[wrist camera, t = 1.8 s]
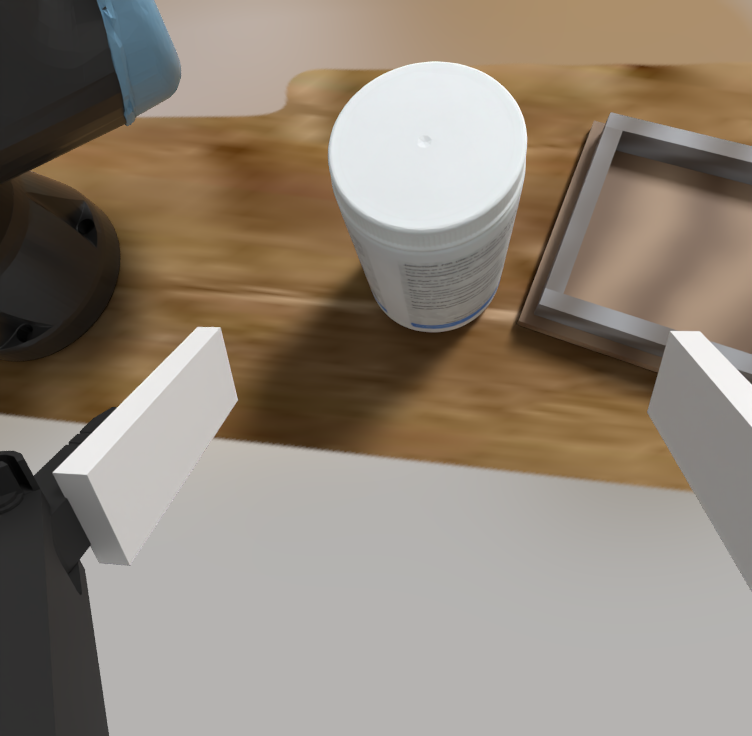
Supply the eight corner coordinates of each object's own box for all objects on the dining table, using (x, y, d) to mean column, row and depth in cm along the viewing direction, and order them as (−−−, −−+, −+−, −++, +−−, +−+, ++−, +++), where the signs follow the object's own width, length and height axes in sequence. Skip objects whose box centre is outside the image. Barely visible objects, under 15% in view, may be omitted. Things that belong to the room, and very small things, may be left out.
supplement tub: (518, 244, 36) (569, 88, 22) (467, 357, 35) (486, 267, 21) (400, 201, 38) (378, 33, 24) (347, 306, 37) (288, 193, 23)
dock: (516, 324, 35) (523, 310, 32) (591, 128, 38) (602, 100, 35) (775, 412, 31) (806, 405, 29) (834, 189, 34) (868, 163, 32)
